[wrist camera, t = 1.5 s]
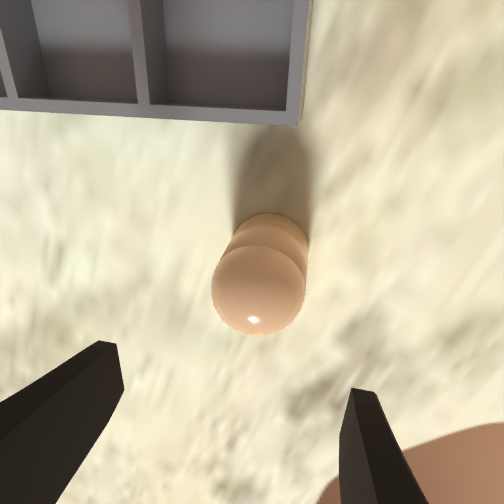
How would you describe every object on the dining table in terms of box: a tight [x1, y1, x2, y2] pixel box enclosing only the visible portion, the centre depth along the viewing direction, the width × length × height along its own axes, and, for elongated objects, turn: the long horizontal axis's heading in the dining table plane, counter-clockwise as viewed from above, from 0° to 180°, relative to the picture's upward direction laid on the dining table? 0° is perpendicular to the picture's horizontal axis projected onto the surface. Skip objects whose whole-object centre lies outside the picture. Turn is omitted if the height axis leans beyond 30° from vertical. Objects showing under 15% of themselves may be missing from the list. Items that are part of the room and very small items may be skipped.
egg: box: [211, 213, 309, 336], centre depth 16 cm, size 4×4×6 cm
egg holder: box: [0, 0, 313, 126], centre depth 14 cm, size 18×6×3 cm, turn 88°
